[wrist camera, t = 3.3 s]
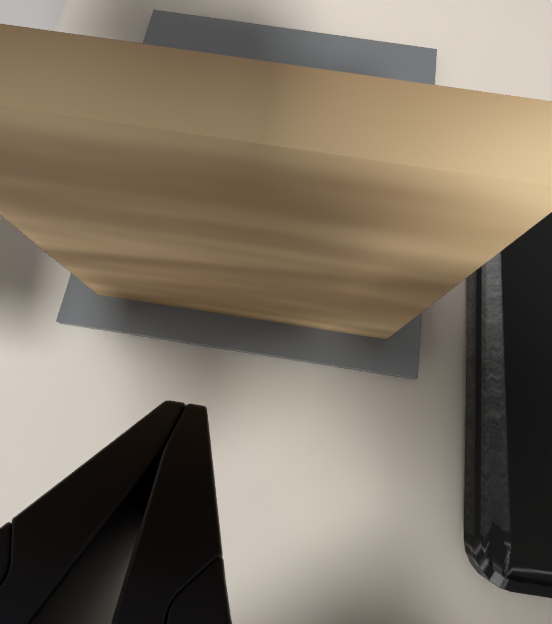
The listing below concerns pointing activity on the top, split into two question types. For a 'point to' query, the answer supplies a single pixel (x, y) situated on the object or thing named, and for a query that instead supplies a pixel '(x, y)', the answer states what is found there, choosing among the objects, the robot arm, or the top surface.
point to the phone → (511, 416)
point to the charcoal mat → (239, 330)
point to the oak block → (261, 179)
